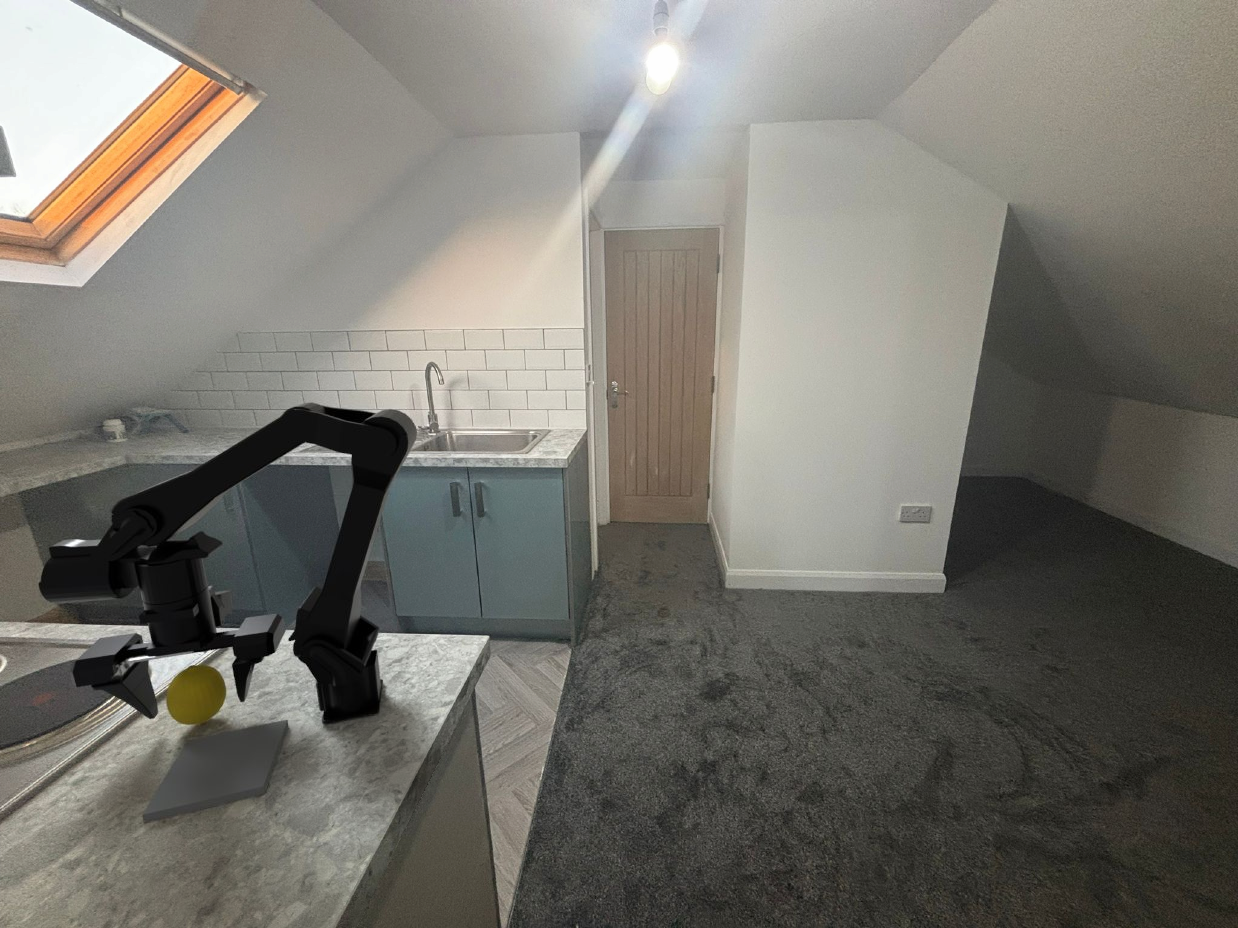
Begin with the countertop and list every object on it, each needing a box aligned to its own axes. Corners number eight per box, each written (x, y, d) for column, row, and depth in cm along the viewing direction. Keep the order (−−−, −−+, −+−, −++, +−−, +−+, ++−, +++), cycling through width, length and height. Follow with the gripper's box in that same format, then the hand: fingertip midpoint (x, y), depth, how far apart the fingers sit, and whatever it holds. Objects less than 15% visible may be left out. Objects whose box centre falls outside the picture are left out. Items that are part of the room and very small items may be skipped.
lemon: (199, 743, 59) (186, 684, 57) (161, 735, 60) (147, 677, 58) (242, 710, 64) (232, 655, 62) (206, 703, 65) (195, 649, 63)
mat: (288, 726, 62) (287, 719, 62) (264, 793, 53) (262, 786, 52) (188, 746, 58) (187, 739, 58) (144, 822, 49) (142, 814, 49)
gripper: (288, 554, 68) (302, 655, 72) (112, 572, 62) (138, 682, 66) (263, 592, 58) (282, 707, 62) (50, 619, 52) (85, 745, 56)
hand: (200, 707), depth 62 cm, fingers open, 9 cm apart
